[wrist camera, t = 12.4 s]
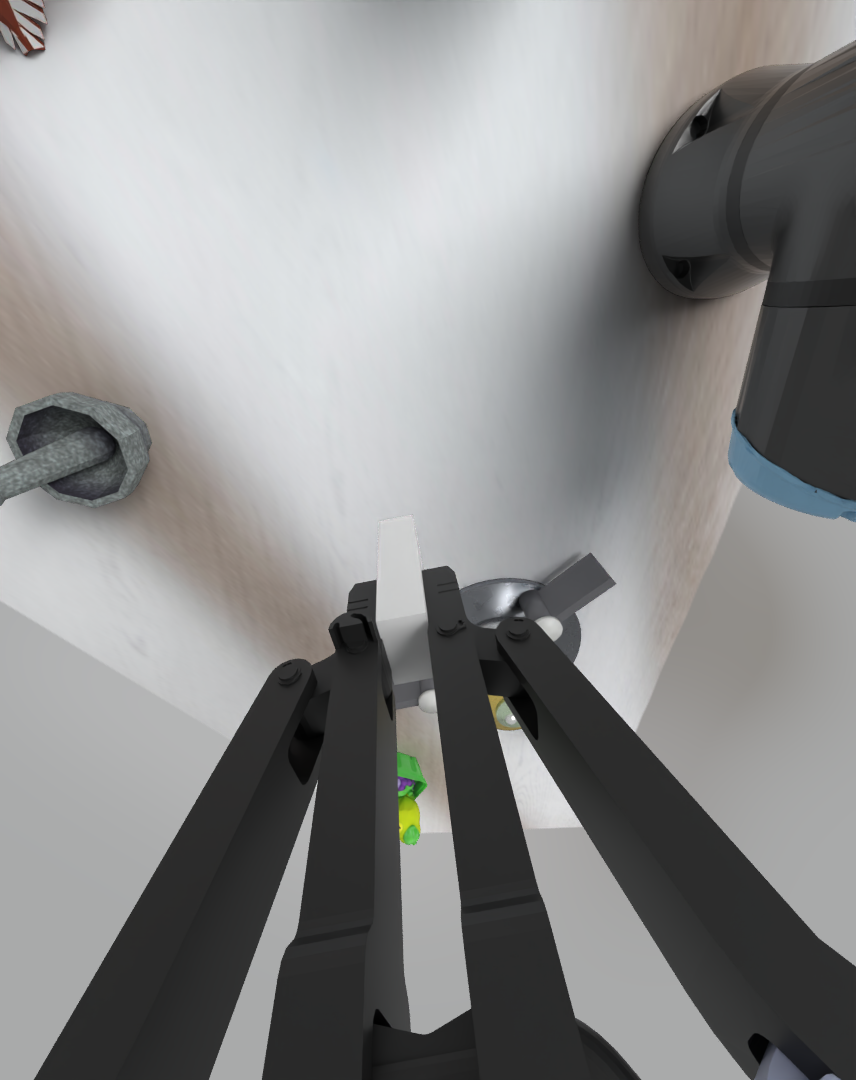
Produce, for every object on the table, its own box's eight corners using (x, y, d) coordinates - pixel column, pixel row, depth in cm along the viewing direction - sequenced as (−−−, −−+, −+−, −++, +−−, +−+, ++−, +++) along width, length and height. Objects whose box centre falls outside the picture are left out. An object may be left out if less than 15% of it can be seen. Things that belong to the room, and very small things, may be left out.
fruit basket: (387, 742, 70) (388, 815, 60) (432, 757, 73) (440, 828, 63) (354, 780, 74) (350, 854, 64) (398, 792, 77) (400, 864, 67)
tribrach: (579, 563, 55) (625, 625, 45) (576, 688, 67) (612, 760, 57) (398, 597, 55) (401, 666, 45) (427, 716, 67) (435, 793, 57)
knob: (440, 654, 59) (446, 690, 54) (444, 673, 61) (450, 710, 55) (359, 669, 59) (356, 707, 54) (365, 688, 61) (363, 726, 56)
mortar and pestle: (132, 369, 40) (41, 394, 29) (189, 461, 44) (129, 510, 34) (25, 408, 40) (-100, 445, 30) (92, 494, 45) (4, 552, 35)
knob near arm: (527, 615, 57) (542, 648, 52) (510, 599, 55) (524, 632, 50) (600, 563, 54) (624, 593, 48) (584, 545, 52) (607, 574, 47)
